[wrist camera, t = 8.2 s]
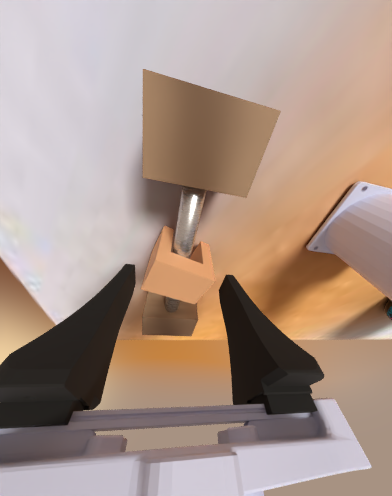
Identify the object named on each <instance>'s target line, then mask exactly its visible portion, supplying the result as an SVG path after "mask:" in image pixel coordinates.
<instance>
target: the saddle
mask: <svg viewBox="0 0 392 496" xmlns="http://www.w3.org/2000/svg"><path fill="white" fill-rule="evenodd" d="M173 233H174V229H171V228H169V227H167V226H164V227H163V229H162V232H161V234H160V236H159V238H158V240H157V242H156V244H155V246H154V248H153V251H152V253H151V257H150V260H149V263H148V267H147V270H146V273H145V277H144V280H143V283H142V286H141V289H142V290H145V291H149V292H152V293H156V294H159V295H163V296H166V297H170V298H173V299H177V300H181V301H184V302H188V303H191V304H196V303H197V302H198V300H199V299H200V298H201V297H202V296H203V295H204V294H205V293H206V291H207V290H208V289H209V288H210V287H211V286H212V285H213V284H214V283H215V275H214V270H213V264H212V259H211V253H210V248H209V245H208V244H206V243H204V242H200V243H199V245H198V246H197V248H196V249H195V251H194V252H193V254H192V255H191V257H190V259H188V258H185V257H183V256H180V255H178V254H175V253H172V252H171V247H172V240H173Z"/></svg>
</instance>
